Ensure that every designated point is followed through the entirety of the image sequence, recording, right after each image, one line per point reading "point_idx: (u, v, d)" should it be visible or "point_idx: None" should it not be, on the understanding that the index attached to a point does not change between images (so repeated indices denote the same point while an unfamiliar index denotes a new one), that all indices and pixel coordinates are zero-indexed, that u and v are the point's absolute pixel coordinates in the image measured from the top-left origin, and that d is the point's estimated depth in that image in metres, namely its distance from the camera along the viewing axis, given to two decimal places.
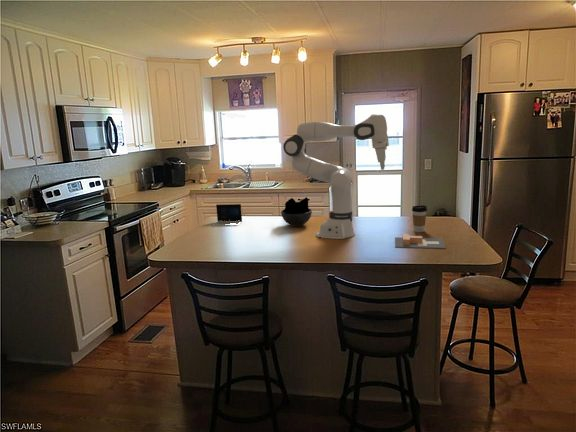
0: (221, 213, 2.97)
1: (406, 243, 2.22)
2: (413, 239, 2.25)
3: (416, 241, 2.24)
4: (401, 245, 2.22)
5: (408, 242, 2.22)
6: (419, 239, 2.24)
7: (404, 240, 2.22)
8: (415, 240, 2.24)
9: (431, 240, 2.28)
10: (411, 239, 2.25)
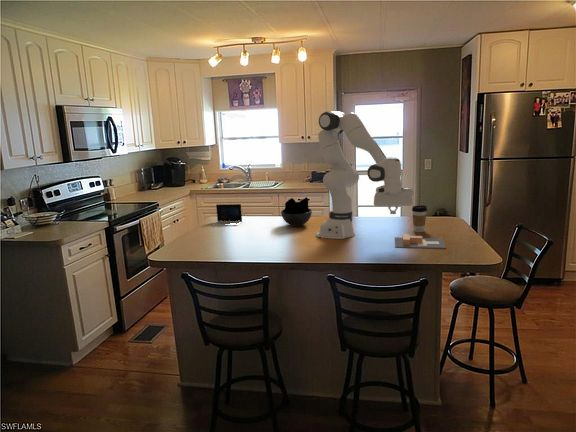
0: (221, 213, 2.97)
1: (406, 243, 2.22)
2: (413, 239, 2.25)
3: (416, 241, 2.24)
4: (401, 245, 2.22)
5: (408, 242, 2.22)
6: (419, 239, 2.24)
7: (404, 240, 2.22)
8: (415, 240, 2.24)
9: (431, 240, 2.28)
10: (411, 239, 2.25)
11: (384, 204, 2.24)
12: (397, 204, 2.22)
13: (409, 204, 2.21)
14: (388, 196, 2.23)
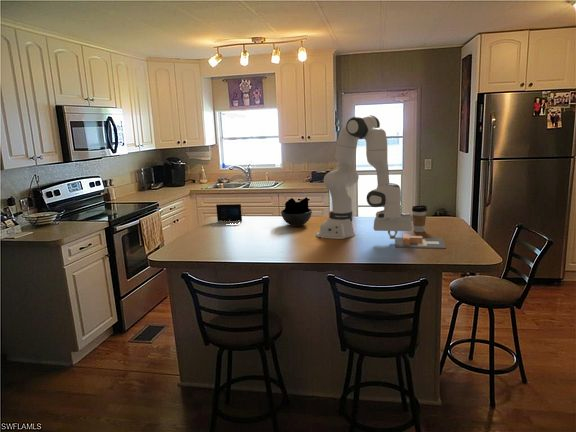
0: (221, 213, 2.97)
1: (406, 243, 2.22)
2: (413, 239, 2.25)
3: (416, 241, 2.24)
4: (401, 245, 2.22)
5: (408, 242, 2.22)
6: (419, 239, 2.24)
7: (404, 240, 2.22)
8: (415, 240, 2.24)
9: (431, 240, 2.28)
10: (411, 239, 2.25)
11: (384, 229, 2.27)
12: (396, 229, 2.25)
13: (408, 230, 2.24)
14: (388, 221, 2.26)
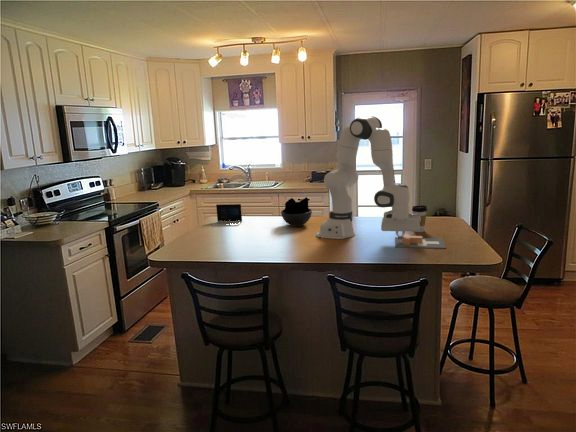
0: (221, 213, 2.97)
1: (406, 243, 2.22)
2: (413, 239, 2.25)
3: (416, 241, 2.24)
4: (401, 245, 2.22)
5: (408, 242, 2.22)
6: (419, 239, 2.24)
7: (404, 240, 2.22)
8: (415, 240, 2.24)
9: (431, 240, 2.28)
10: (411, 239, 2.25)
11: (391, 229, 2.26)
12: (404, 230, 2.24)
13: (416, 230, 2.23)
14: (396, 222, 2.25)
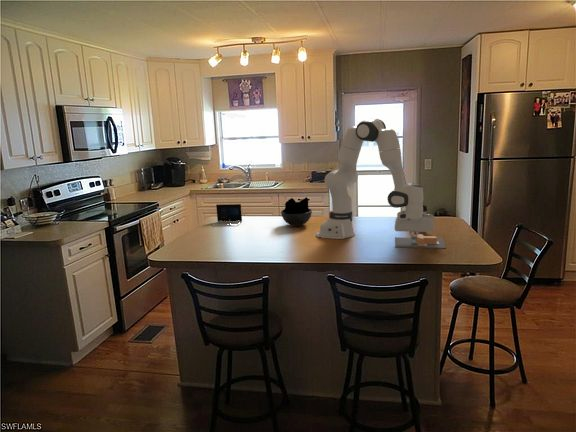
0: (221, 213, 2.97)
1: (420, 243, 2.20)
2: (427, 239, 2.23)
3: (430, 241, 2.23)
4: (401, 245, 2.22)
5: (422, 242, 2.20)
6: (433, 239, 2.22)
7: (418, 240, 2.20)
8: (429, 240, 2.23)
9: None
10: (425, 239, 2.23)
11: (405, 229, 2.24)
12: (418, 230, 2.23)
13: (430, 230, 2.21)
14: (409, 222, 2.23)
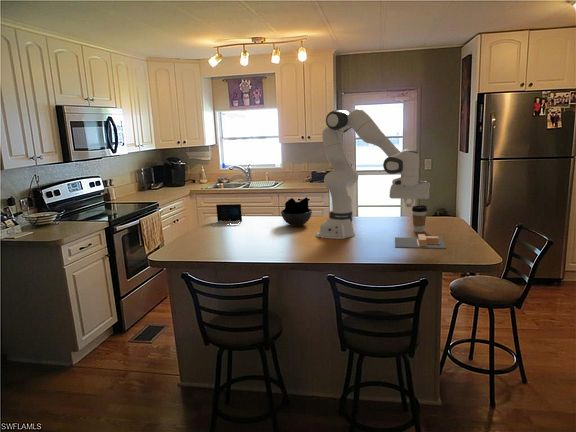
0: (221, 213, 2.97)
1: (422, 243, 2.20)
2: (429, 239, 2.23)
3: (432, 241, 2.23)
4: (401, 245, 2.22)
5: (424, 242, 2.20)
6: (435, 239, 2.22)
7: (420, 240, 2.20)
8: (431, 241, 2.23)
9: None
10: (427, 239, 2.23)
11: (400, 197, 2.21)
12: (413, 197, 2.20)
13: (426, 197, 2.18)
14: (404, 189, 2.20)
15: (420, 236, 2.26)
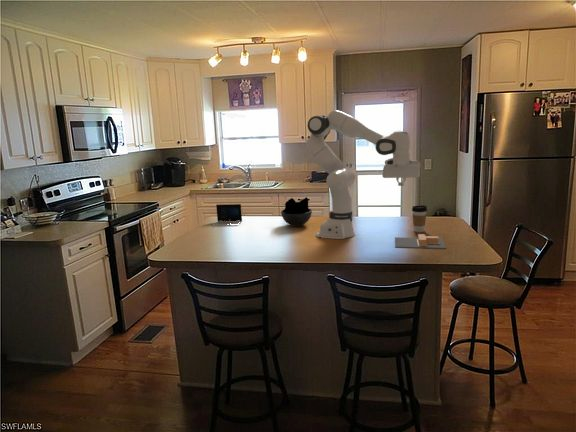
0: (221, 213, 2.97)
1: (422, 243, 2.20)
2: (429, 239, 2.23)
3: (432, 241, 2.23)
4: (401, 245, 2.22)
5: (424, 242, 2.20)
6: (435, 239, 2.22)
7: (420, 240, 2.20)
8: (431, 241, 2.23)
9: None
10: (427, 239, 2.23)
11: (392, 176, 2.33)
12: (405, 176, 2.32)
13: (416, 176, 2.30)
14: (396, 168, 2.32)
15: (420, 236, 2.26)
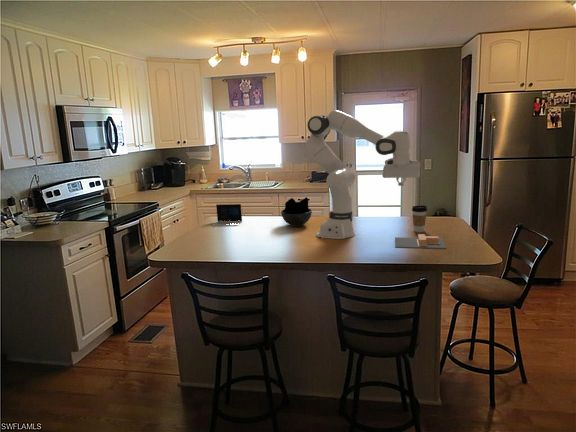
0: (221, 213, 2.97)
1: (422, 243, 2.20)
2: (429, 239, 2.23)
3: (432, 241, 2.23)
4: (401, 245, 2.22)
5: (424, 242, 2.20)
6: (435, 239, 2.22)
7: (420, 240, 2.20)
8: (431, 241, 2.23)
9: None
10: (427, 239, 2.23)
11: (392, 176, 2.33)
12: (405, 176, 2.32)
13: (416, 176, 2.30)
14: (396, 168, 2.32)
15: (420, 236, 2.26)
